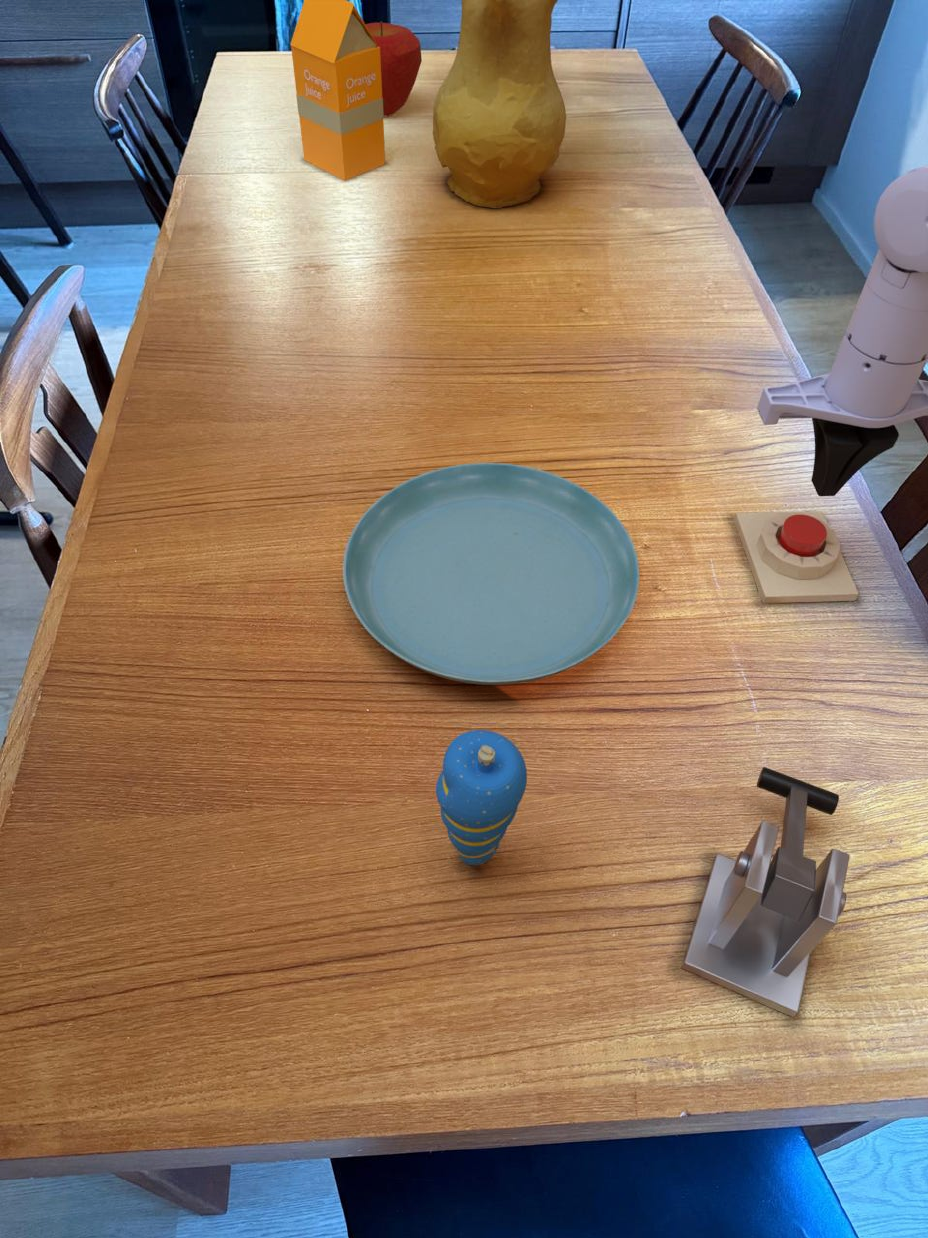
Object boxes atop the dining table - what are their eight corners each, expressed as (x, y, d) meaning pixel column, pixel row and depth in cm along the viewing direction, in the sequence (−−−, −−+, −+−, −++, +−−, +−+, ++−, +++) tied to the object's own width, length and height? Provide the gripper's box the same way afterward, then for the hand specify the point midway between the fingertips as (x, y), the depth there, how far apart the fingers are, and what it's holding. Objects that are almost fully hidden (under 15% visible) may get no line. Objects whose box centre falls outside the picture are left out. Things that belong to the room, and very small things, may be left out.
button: (826, 556, 76) (832, 543, 75) (784, 557, 76) (790, 544, 74) (813, 526, 78) (819, 513, 77) (773, 527, 78) (778, 514, 77)
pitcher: (402, 184, 121) (408, -40, 102) (490, 147, 131) (510, -63, 112) (500, 231, 114) (526, 1, 95) (585, 189, 124) (623, -27, 105)
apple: (436, 110, 137) (435, 20, 128) (386, 132, 132) (382, 39, 123) (384, 90, 142) (380, 1, 132) (334, 110, 136) (327, 19, 127)
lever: (754, 785, 61) (767, 757, 60) (828, 813, 60) (842, 785, 59) (735, 896, 51) (750, 864, 50) (824, 933, 50) (840, 901, 49)
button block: (855, 601, 75) (866, 581, 74) (762, 603, 75) (770, 583, 73) (819, 517, 82) (828, 497, 80) (733, 519, 81) (740, 499, 79)
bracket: (713, 858, 61) (752, 788, 53) (817, 901, 59) (873, 834, 51) (681, 968, 56) (718, 908, 48) (793, 1018, 54) (850, 963, 47)
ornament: (452, 816, 62) (455, 693, 51) (523, 840, 61) (543, 720, 50) (425, 883, 59) (422, 769, 47) (500, 910, 58) (515, 799, 46)
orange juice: (345, 143, 129) (331, -21, 114) (386, 163, 125) (378, -4, 110) (302, 160, 126) (283, -8, 110) (344, 181, 122) (330, 11, 106)
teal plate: (426, 459, 86) (426, 431, 83) (669, 540, 80) (676, 513, 77) (290, 637, 72) (284, 610, 69) (571, 752, 66) (576, 727, 63)
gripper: (966, 306, 64) (892, 452, 75) (769, 309, 64) (722, 456, 74) (1010, 364, 60) (925, 511, 71) (798, 368, 59) (744, 516, 70)
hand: (823, 487), depth 72 cm, fingers closed
